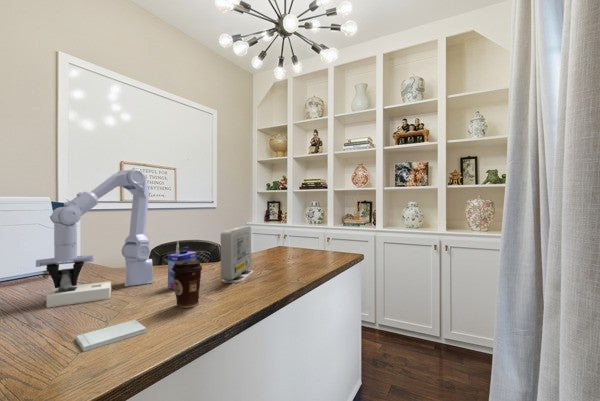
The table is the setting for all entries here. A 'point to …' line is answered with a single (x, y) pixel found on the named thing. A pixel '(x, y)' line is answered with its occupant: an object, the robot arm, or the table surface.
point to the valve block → (80, 294)
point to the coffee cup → (187, 283)
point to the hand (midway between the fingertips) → (66, 286)
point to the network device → (235, 254)
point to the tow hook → (177, 247)
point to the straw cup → (175, 258)
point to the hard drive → (109, 335)
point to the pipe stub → (65, 280)
